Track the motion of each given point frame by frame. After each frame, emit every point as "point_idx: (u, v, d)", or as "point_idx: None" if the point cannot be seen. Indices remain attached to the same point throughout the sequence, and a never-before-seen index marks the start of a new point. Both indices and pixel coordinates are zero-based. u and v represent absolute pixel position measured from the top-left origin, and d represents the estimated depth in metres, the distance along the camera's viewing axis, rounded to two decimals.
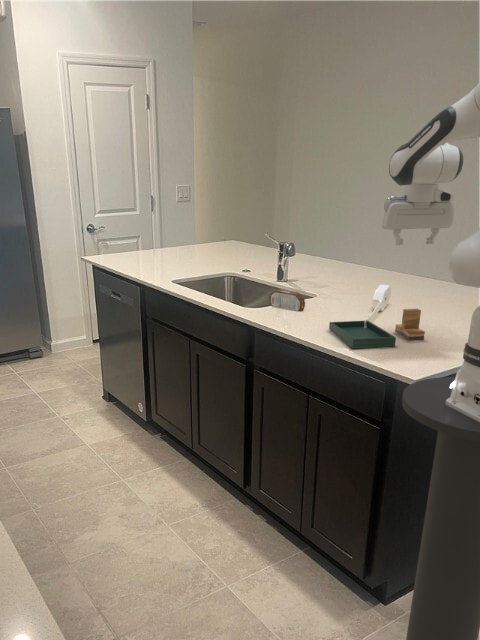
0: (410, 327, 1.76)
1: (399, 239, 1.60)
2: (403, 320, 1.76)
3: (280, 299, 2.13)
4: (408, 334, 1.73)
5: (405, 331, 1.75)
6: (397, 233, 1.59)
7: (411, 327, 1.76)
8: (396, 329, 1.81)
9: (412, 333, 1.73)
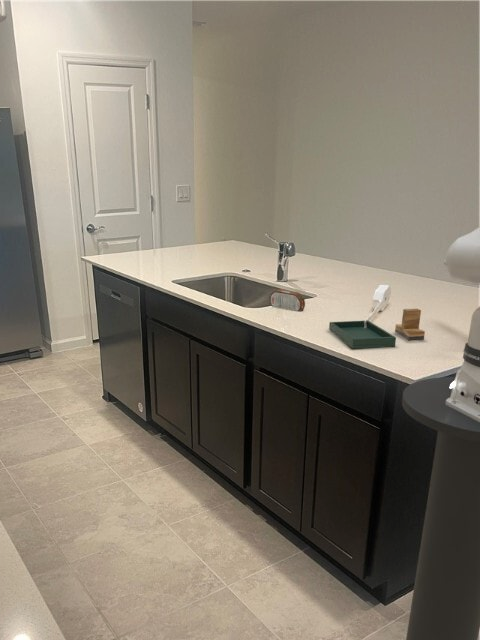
0: (410, 327, 1.76)
1: None
2: (403, 320, 1.76)
3: (280, 299, 2.13)
4: (408, 334, 1.73)
5: (405, 331, 1.75)
6: None
7: (411, 327, 1.76)
8: (396, 329, 1.81)
9: (412, 333, 1.73)
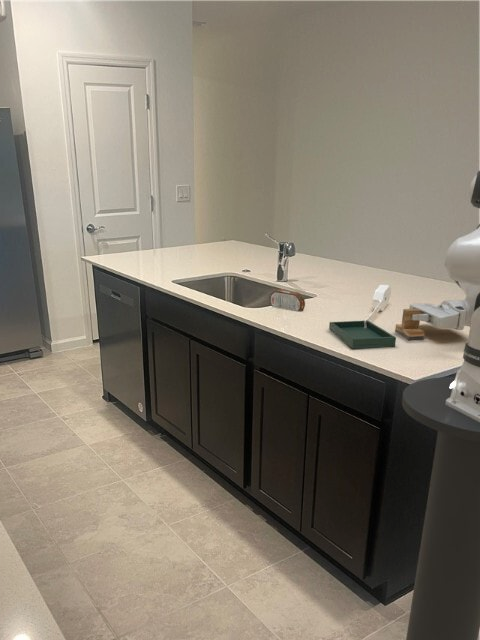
0: (410, 327, 1.76)
1: None
2: (403, 320, 1.76)
3: (280, 299, 2.13)
4: (408, 334, 1.73)
5: (405, 331, 1.75)
6: None
7: (411, 327, 1.76)
8: (396, 329, 1.81)
9: (412, 333, 1.73)
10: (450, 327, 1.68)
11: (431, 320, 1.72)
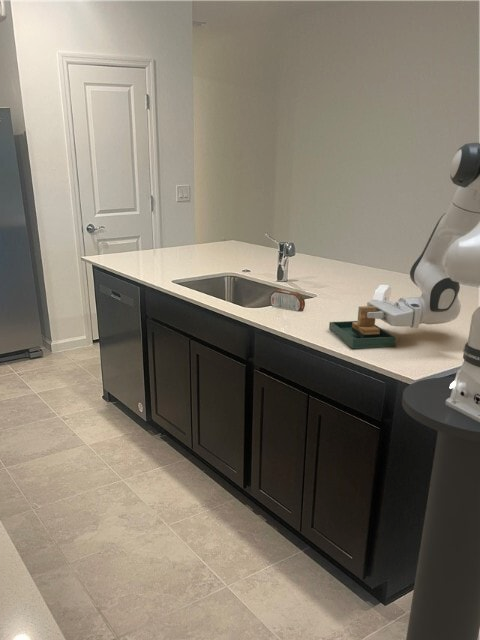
0: (365, 325, 1.72)
1: None
2: (358, 318, 1.72)
3: (280, 299, 2.13)
4: (363, 332, 1.69)
5: (360, 329, 1.71)
6: None
7: (366, 325, 1.72)
8: (353, 327, 1.77)
9: (367, 331, 1.69)
10: (404, 325, 1.64)
11: (386, 318, 1.68)
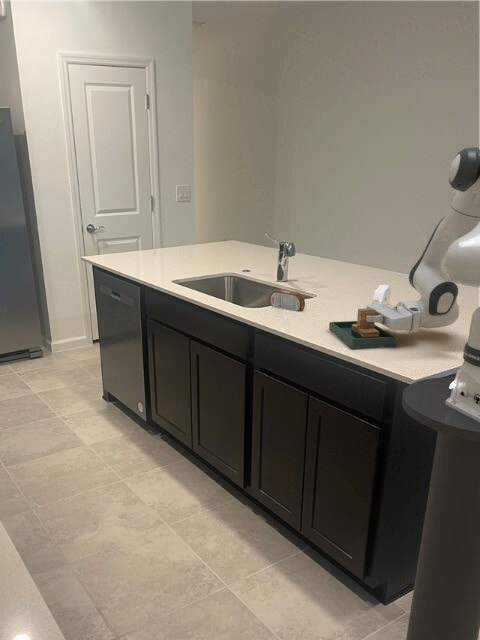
0: (365, 327, 1.73)
1: None
2: (358, 320, 1.73)
3: (280, 299, 2.13)
4: (362, 334, 1.70)
5: (360, 331, 1.72)
6: None
7: (366, 327, 1.73)
8: (352, 329, 1.78)
9: (366, 333, 1.69)
10: (403, 329, 1.65)
11: (385, 322, 1.69)
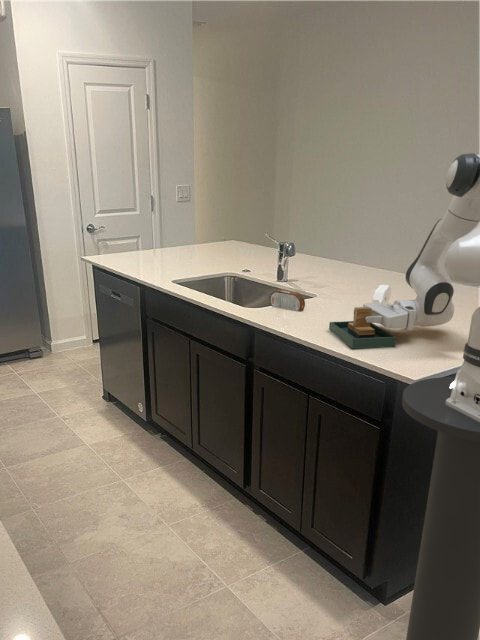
0: (361, 325, 1.75)
1: None
2: (354, 318, 1.76)
3: (280, 299, 2.13)
4: (358, 332, 1.73)
5: (356, 329, 1.75)
6: None
7: (362, 325, 1.75)
8: (348, 327, 1.81)
9: (362, 331, 1.72)
10: (399, 327, 1.68)
11: None
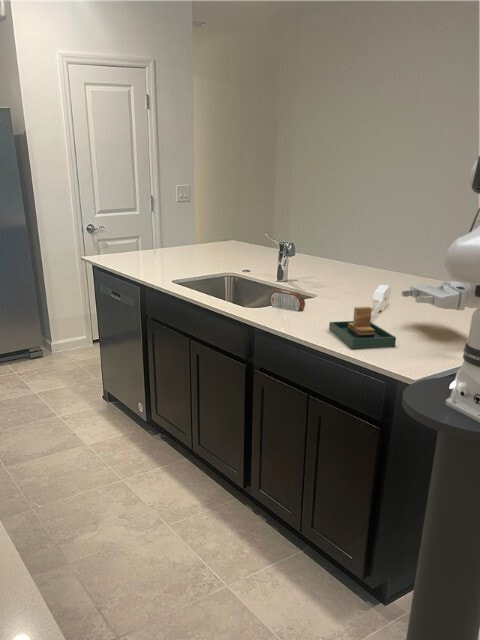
0: (361, 325, 1.75)
1: (407, 290, 1.79)
2: (354, 318, 1.76)
3: (280, 299, 2.13)
4: (358, 332, 1.73)
5: (356, 329, 1.75)
6: (411, 289, 1.80)
7: (362, 325, 1.75)
8: (348, 327, 1.81)
9: (362, 331, 1.72)
10: (451, 307, 1.67)
11: None
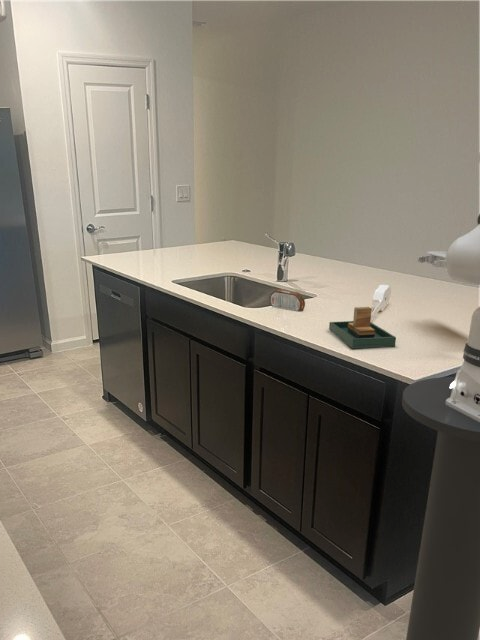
0: (361, 325, 1.75)
1: (423, 256, 1.76)
2: (354, 318, 1.76)
3: (280, 299, 2.13)
4: (358, 332, 1.73)
5: (356, 329, 1.75)
6: (427, 255, 1.77)
7: (362, 325, 1.75)
8: (348, 327, 1.81)
9: (362, 331, 1.72)
10: None
11: None
